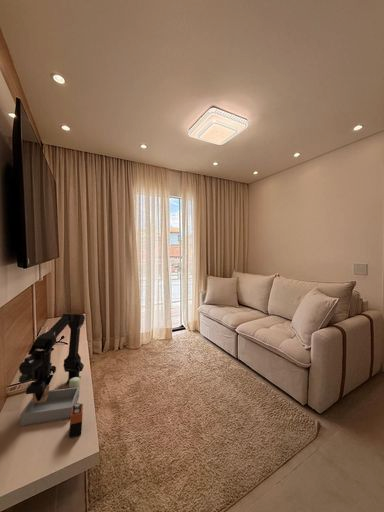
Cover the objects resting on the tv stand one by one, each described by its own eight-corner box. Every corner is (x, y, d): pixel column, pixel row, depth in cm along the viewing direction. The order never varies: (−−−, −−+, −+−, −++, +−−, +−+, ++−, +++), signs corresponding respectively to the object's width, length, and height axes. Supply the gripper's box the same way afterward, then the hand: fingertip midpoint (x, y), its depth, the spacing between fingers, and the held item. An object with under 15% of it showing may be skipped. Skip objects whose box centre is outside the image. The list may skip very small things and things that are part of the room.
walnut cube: (36, 396, 100) (37, 385, 100) (48, 395, 101) (49, 384, 101) (32, 403, 95) (33, 392, 95) (45, 401, 96) (45, 390, 96)
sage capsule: (70, 390, 114) (70, 377, 114) (80, 389, 116) (80, 376, 116) (67, 396, 109) (68, 382, 110) (78, 394, 111) (78, 381, 111)
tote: (35, 402, 104) (36, 392, 104) (79, 396, 110) (79, 386, 110) (19, 426, 89) (20, 414, 89) (71, 418, 95) (71, 407, 95)
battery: (82, 423, 92) (83, 400, 92) (81, 435, 86) (82, 410, 86) (70, 426, 90) (71, 403, 90) (69, 439, 84) (70, 413, 84)
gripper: (31, 356, 105) (30, 387, 105) (12, 376, 87) (9, 414, 87) (57, 354, 108) (55, 384, 108) (43, 373, 90) (40, 409, 90)
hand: (41, 396), depth 98 cm, fingers closed on walnut cube, 5 cm apart
